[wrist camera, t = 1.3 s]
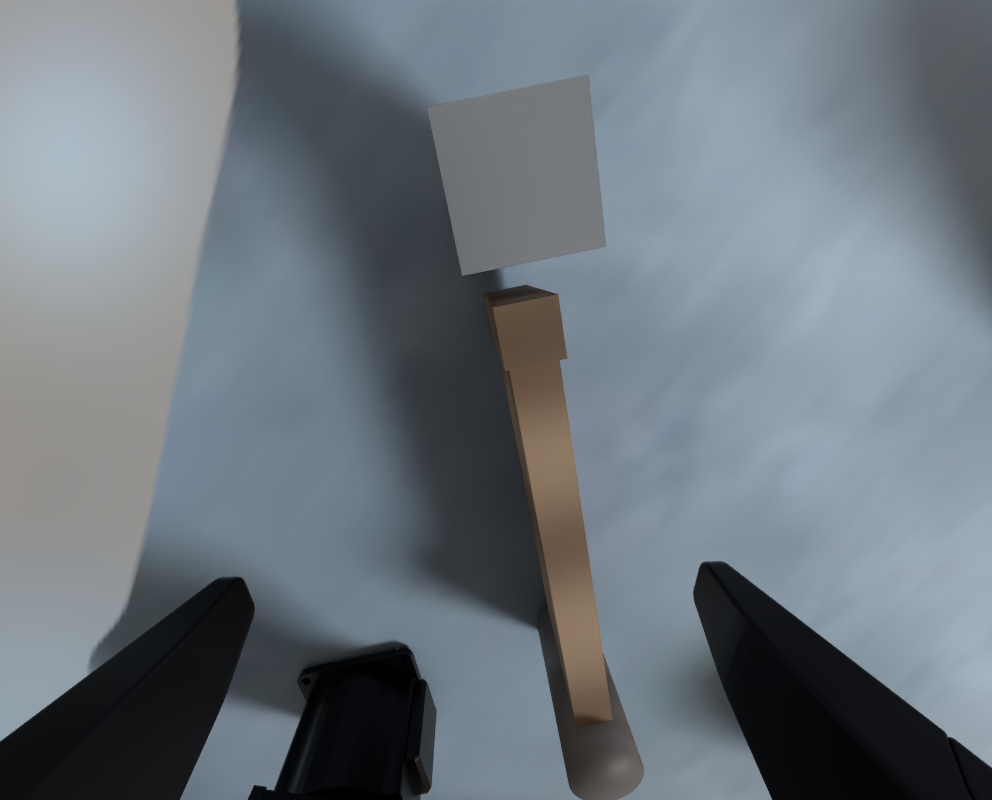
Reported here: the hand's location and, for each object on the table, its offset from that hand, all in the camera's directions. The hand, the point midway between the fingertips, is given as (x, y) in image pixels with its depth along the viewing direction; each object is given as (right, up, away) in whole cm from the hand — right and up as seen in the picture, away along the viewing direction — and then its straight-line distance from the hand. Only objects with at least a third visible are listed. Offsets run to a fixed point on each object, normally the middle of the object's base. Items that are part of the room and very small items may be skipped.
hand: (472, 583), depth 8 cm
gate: (+3, -1, +13) cm, 13 cm away
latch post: (0, +11, +9) cm, 14 cm away
